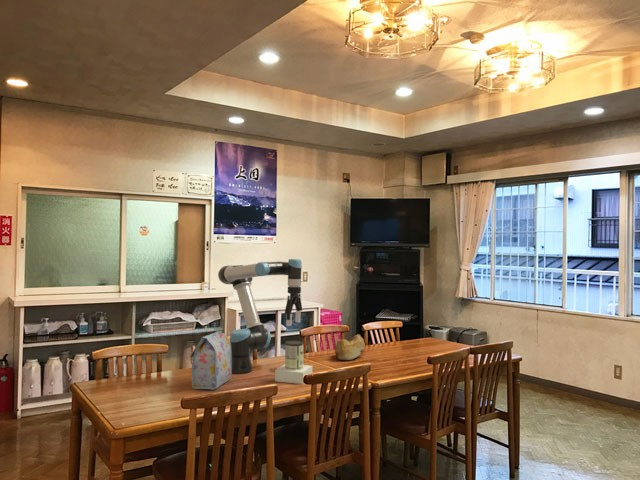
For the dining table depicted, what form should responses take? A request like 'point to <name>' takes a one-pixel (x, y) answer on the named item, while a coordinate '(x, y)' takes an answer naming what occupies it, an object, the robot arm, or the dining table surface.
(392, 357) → the dining table surface
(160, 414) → the dining table surface
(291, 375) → the white square box
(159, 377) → the dining table surface
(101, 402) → the dining table surface
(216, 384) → the lunch bag
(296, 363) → the coffee can
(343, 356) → the rough brown rock
